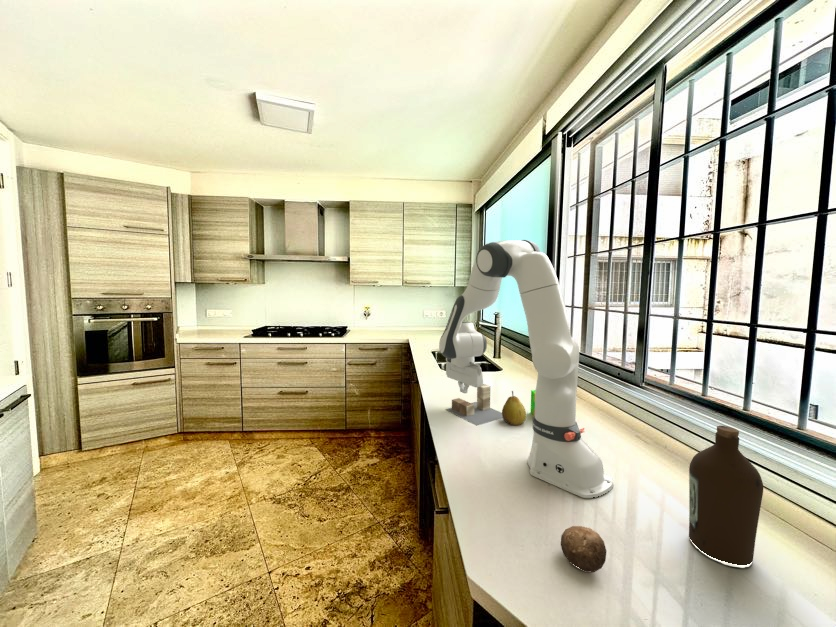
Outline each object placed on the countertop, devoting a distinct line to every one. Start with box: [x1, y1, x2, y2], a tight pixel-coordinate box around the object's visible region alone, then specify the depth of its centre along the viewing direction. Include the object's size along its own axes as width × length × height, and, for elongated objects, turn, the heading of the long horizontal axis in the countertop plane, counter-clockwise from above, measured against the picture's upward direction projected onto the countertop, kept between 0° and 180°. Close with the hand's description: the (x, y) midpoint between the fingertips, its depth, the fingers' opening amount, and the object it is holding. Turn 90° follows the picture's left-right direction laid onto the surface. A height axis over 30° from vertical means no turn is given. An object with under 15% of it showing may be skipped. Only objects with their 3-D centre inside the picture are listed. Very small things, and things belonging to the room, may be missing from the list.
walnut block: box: [451, 397, 474, 416], centre depth 138 cm, size 4×4×10 cm
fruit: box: [501, 390, 527, 426], centre depth 127 cm, size 9×9×12 cm
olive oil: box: [688, 425, 764, 565], centre depth 64 cm, size 11×11×25 cm
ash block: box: [476, 383, 491, 411], centre depth 142 cm, size 4×4×10 cm
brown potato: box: [560, 525, 607, 573], centre depth 63 cm, size 8×8×6 cm
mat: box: [445, 401, 503, 426], centre depth 137 cm, size 20×18×1 cm
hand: (463, 392), depth 138 cm, fingers closed
